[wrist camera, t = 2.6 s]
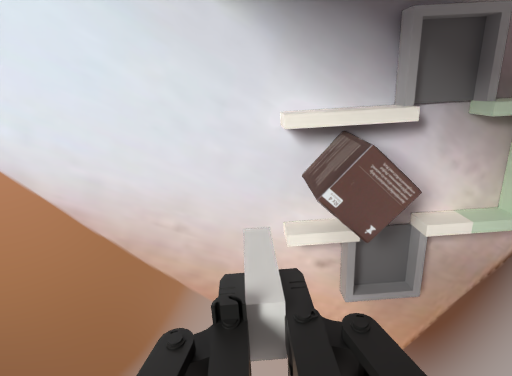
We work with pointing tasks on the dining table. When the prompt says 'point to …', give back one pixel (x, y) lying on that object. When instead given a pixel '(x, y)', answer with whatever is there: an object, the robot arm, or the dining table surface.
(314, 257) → the dining table surface
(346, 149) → the box
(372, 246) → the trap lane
